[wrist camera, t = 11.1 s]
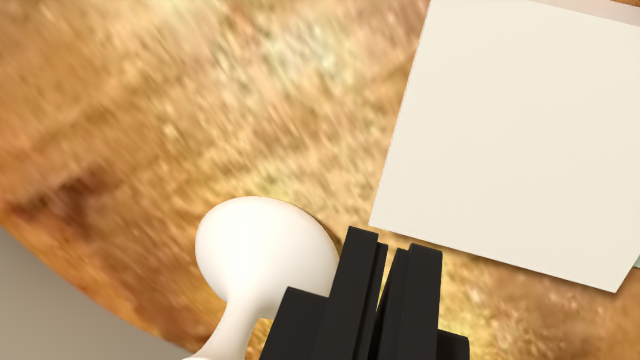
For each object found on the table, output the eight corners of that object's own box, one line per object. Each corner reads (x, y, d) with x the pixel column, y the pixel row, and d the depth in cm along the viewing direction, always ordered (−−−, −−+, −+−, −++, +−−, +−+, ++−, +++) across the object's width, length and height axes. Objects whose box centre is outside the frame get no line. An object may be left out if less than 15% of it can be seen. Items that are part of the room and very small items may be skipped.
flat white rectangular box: (441, -40, 33) (437, -22, 30) (735, 30, 32) (765, 57, 29) (376, 191, 42) (368, 225, 39) (603, 252, 41) (615, 293, 38)
